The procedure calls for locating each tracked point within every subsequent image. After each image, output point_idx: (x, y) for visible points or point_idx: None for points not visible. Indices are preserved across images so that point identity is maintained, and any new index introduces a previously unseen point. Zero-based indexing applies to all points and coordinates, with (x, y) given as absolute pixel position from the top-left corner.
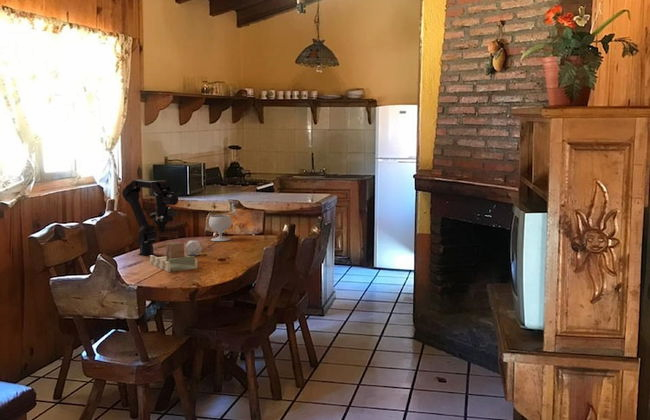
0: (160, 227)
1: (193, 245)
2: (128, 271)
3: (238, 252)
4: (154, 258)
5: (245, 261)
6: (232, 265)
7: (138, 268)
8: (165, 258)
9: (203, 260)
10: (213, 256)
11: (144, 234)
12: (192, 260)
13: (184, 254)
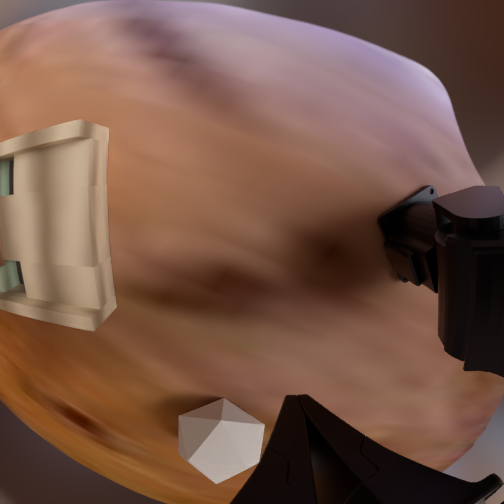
0: (264, 453)
1: (183, 447)
2: (50, 22)
3: (181, 489)
4: (26, 135)
5: (44, 428)
6: (3, 378)
7: (62, 58)
8: (39, 209)
9: (81, 380)
10: (146, 438)
11: (485, 231)
12: None
13: (25, 314)
